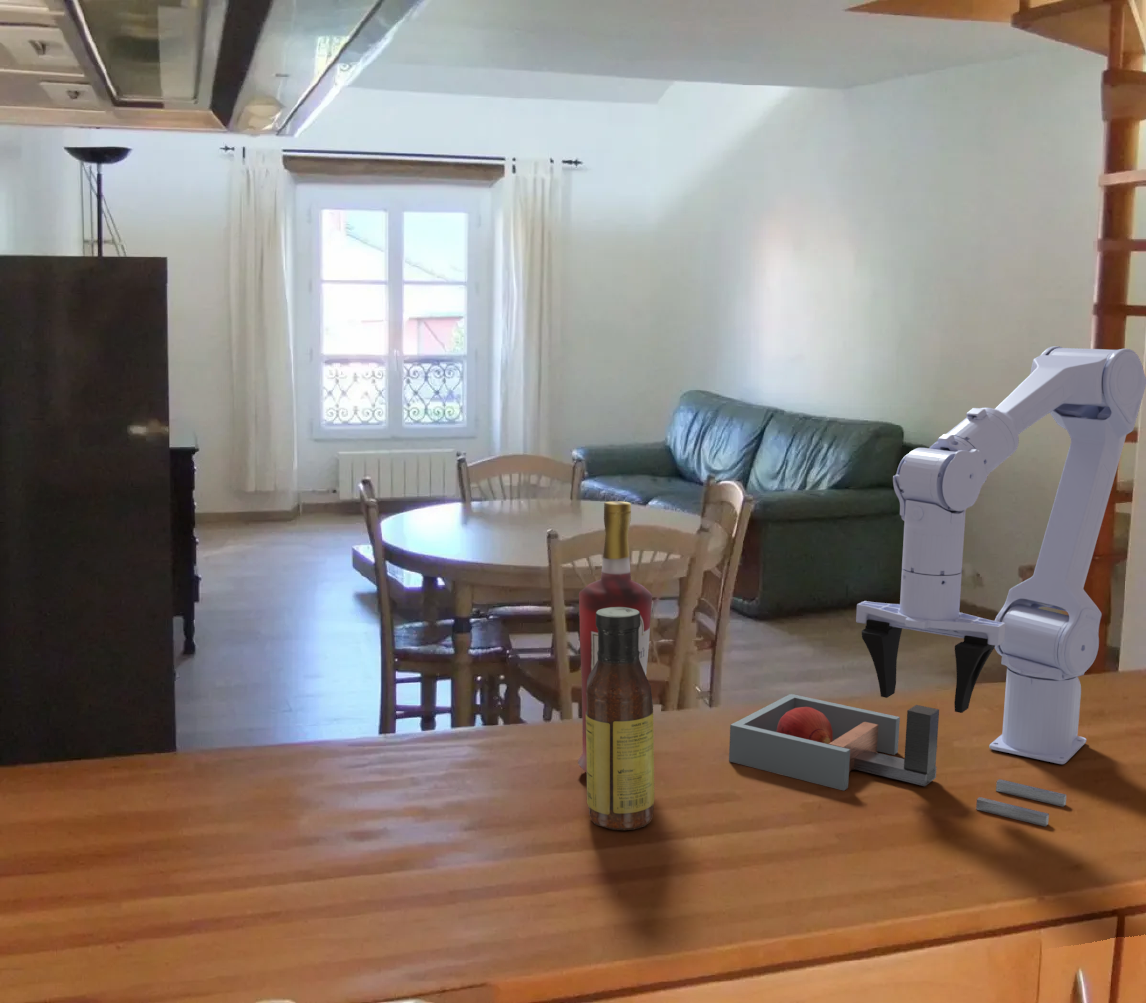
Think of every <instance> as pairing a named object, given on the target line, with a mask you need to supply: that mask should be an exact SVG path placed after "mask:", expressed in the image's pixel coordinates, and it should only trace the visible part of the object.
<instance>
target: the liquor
mask: <svg viewBox="0 0 1146 1003" xmlns="http://www.w3.org/2000/svg"><path fill="white" fill-rule="evenodd" d="M631 520H632V503H631V502H628V501H618V500H615V501H614V500H611V501H605V502H604V503H603V522H604V523H603V524H604V530H605V535H604V545H603V553H602V554H603V556H602V562H601V563H602V564H601V565H602V566H601V573H600V574H601V575H600V579H598V580H595V581H593V582H590V583H588V584H587V585H586V586H585V587H584V588H582V589H581V590H579V592H578V602H579V603H578V605H579V608H578V609H579V611H578V612H579V647H580V648H579V650H580V653H579V654H580V670H581V671H580V672H581V673H580V674H581V675H580V676H581V709H582V710H581V712H582V714H581V715H582V718H581V720H582V723H581V724H582V731H581V732H582V753H581V755H580V756H579V758H578V760H577V764H578V766H579V767H580V768H581V769H582V770H583V771H584V773H586V774H587V751H586V711H587V695H586V687H587V679H588V676H589V674H590V673H591V671H592V669H593V668H594V666H595V664H596V663H597V661H598V655H597V652H598V629H597V627H596V612H597V611H598V610H600V609H604V608H610V607H627V608H631V609H636V610H638V611H639V612H640V621H641V625H640V627H639V631H638V632H639V633H638V636H639V638H638V640H639V643H638V645H639V652H640V655H639V659H640V663H641V665H642V668H643V670H644V673H645V675H646V676H647V669H648V657H649V647H650V637H651V636H650V634H651V633H650V632H651V620H652V605H653V604H652V603H653V593H651V591H650V590H649V589H648V588H646V587H645V586H644V585H643V584H641V583H639V582H636V581H634V580H632V575H631V574H632V573H631V560H630V548H629V547H630V546H629V530H630V526H631Z"/></svg>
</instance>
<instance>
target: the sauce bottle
mask: <svg viewBox="0 0 1146 1003" xmlns="http://www.w3.org/2000/svg"><path fill="white" fill-rule="evenodd" d="M640 625H641V621H640V612H639V611H638V610H636V609H631V608H627V607H610V608H604V609H600V610H598V611H597V612H596V627H597V629H598V652H597V655H598V661H597V663H596V664H595V666H594V668H593V669H592V671H591V673H590V674H589V676H588V679H587V687H586V695H587V711H586V751H587V773H586V804H587V806H588V814H589V817H590V820H591V821H592V823H593V824H594V825H596V826H600V827H603V828H606V829H608V830H611V831H633V830H637V829H641V828H643V827H646V826H647V825H649V824H650V822H651V821H652V819H653V817H654V803H655V761H654V760H655V759H654V758H655V757H654V755H655V754H654V753H655V752H654V750H655V748H654V747H655V746H654V745H655V744H654V742H655V740H654V705H653V697H652V696H653V695H652V686H651V684H650V681H649V680H648V678H647V674H646V675H645V673H644V670H643V668H642V665H641V663H640V659H639V655H640V652H639V645H638V643H639V640H638V638H639V636H638V633H639V632H638V631H639V627H640Z"/></svg>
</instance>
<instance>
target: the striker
mask: <svg viewBox="0 0 1146 1003" xmlns="http://www.w3.org/2000/svg"><path fill="white" fill-rule="evenodd" d="M939 717H940V709H938V708H933V707H929V706H924V705H918V704H915V705H914V706H912V707H910V708H908V709H907V712H906V728H905V742H904V758H901V757H898V756H894V755H890V754H889V755H888V754H886V753H885V754H884V753H881V752H878V751H877V740H878V725H877V724H873V723H868V722H863V723H861V724H860V725H858V726H856V727H855V728H853V729H852V730H850V731H848V732H847V733H845V734H844V735H842V736H840V737H839V738H837V739H836V740H834V741H832V742H831V743H829V745H833V746H838V747H842V748H846V749H850V761H849V773H850V772H852V771H853V770H856V771H860V772H864V773H868V774H873V775H876V776H881V777H885V778H889V779H893V780H897V781H900V782H901V781H902V782H906V783H909V784H913V785H919V786H922V787H926V786H927V785H929V784H930V783H931V782H932V781H934V780H935V779H936V778H937V766H936V765H937V750H938V737H939V736H938V735H939V734H938V733H939V719H940V718H939Z"/></svg>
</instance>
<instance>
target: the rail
mask: <svg viewBox="0 0 1146 1003" xmlns="http://www.w3.org/2000/svg"><path fill="white" fill-rule="evenodd" d="M995 784H996V786H995V787H996V788H995V791H996V792H999V793H1003V794H1006V795H1011V796H1016V797H1020V798H1025V799H1029V800H1032V801H1035V802H1036V801H1038V802H1041V803H1046V804H1049V805H1054V806H1056V807H1057V806H1058V807H1062V808H1064V807H1065V806H1066V804H1067V794H1064V793H1061V792H1056V791H1052V790H1048V789H1044V788H1039V787H1034V786H1032V785H1031V786H1030V785H1026V784H1022V783H1018V782H1014V781H1010V780H1005V779H1002V778H1000V779H997V780H996V783H995ZM975 806H976V807H975V809H976V810H977V811H981V812H985V813H988V814H993V815H997V816H1001V817H1005V818H1010V819H1013V820H1018V821H1021V822H1026V823H1029V824H1034V825H1037V826H1042V827H1045V828H1046V827H1047V826H1048V825H1049V819H1050V814H1049V813H1047V812H1043V811H1039V810H1035V809H1032V808H1028V807H1027V808H1025V807H1022V806H1018V805H1014V804H1010V803H1005V802H1002V801H998V800H994V799H989V798H986V797H981V796H979V797H978V798H977V799H976V804H975Z"/></svg>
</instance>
